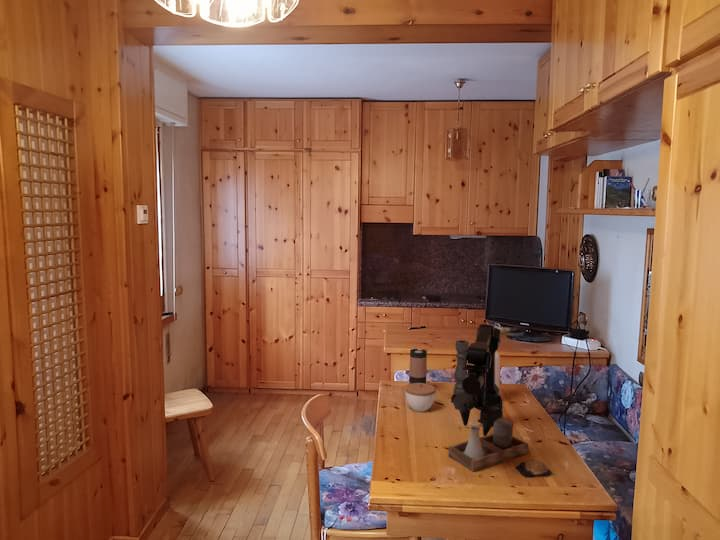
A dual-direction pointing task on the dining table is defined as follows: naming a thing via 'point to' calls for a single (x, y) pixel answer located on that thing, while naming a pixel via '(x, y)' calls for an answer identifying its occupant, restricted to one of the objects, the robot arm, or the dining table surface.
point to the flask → (474, 444)
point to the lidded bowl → (420, 396)
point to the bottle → (497, 369)
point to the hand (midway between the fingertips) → (475, 430)
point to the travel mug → (418, 366)
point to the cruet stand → (492, 448)
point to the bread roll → (534, 469)
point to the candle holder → (460, 365)
